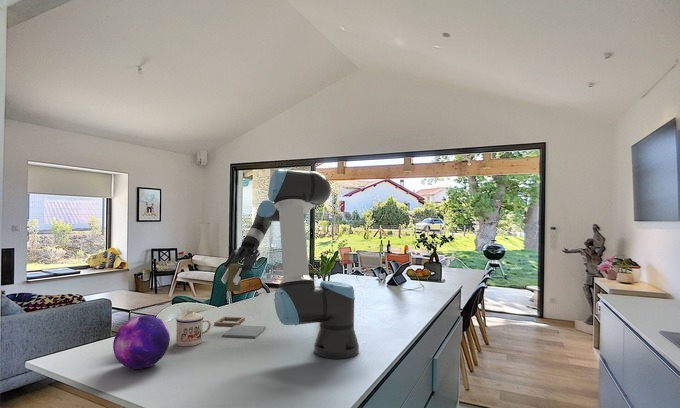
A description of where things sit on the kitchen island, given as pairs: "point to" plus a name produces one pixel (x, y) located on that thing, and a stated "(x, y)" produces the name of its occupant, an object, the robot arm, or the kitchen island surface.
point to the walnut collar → (221, 323)
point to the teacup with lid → (190, 328)
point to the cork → (233, 271)
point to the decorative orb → (141, 342)
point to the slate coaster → (244, 331)
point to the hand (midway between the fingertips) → (229, 282)
